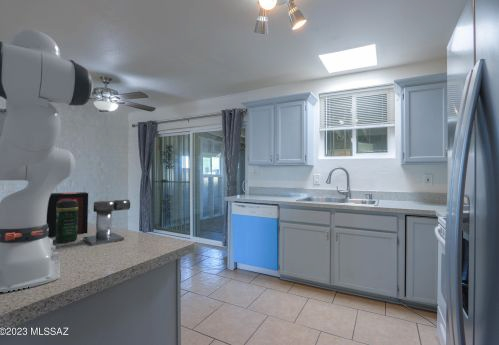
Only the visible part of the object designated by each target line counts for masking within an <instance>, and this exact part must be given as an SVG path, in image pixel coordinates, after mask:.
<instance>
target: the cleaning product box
mask: <svg viewBox="0 0 499 345" xmlns="http://www.w3.org/2000/svg"><path fill="white" fill-rule="evenodd" d="M61 199H72V200H74V201H77V202H78V229H77V235H83V234H84V233H85V234H88V230H89V229H88V224H89V223H88V222H89V220H88V219H89V193H88V192H86V191H82V192H81V191H80V192H52V193H51V195H50V198H49V201H48V208H47V224H48V227H49V231H48V234H49V235H48V237H49V238H55V235H56V205H57V204H56V203H57V202H58V201H60V200H61Z"/></svg>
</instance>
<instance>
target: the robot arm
mask: <svg viewBox="0 0 499 345" xmlns="http://www.w3.org/2000/svg"><path fill="white" fill-rule="evenodd" d="M61 56H62V55H61V50H60V48H59V45H58V44H57V43H56V41H55V40H54V39H53V38H52V37H51V36H50V35H48V34H46V33H44V32H42V31H40V30H37V29H32V28H31V29H27V28H26V29H22V30H19V31H18V32H16V33H15V34H14V35H13V37H11V39H10V40H9V42H8V43H4V42H3V41H0V98H2V99H4V100H6V101H5V108H0V181H27V185H26V186H25V187H24V188H23V189H20V190H18V191H15V192H12V193H10V194H9V195H6V196H4V197H3V198H2V199H1V200H0V292H3V293H9V292H8V291H10V292H14V291H13V290H15V291H19V290H18V289H20V290H24V289H23V288H25V289H29V288H33V287H36V286H41V285H44V284H47V283H51V282H53V281H56V280H58V279H60V277H61V260H58V259H59V251H55V250H56V245H53V239H52V238H51V237H48V235H49V234H48V231H49V227H48V224H47V208H48V201H49V198H50V195H51V193H54V190H55V189H56V188H57V186H58V185H59V184H60V183H62V182H64V180H66V179H68V178H69V177H71V176H72V174H73V173H74V171H75V170H76V164H77V163H76V159H75V157H74V155H73V153H72V152H71V151H70V150H69V149H64V148H61V147H56V145H57V144H58V141H59V138H60V134H61V130H62V129H61V128H62V120H61V116H60V115H61V114H60V112H59V110H57V108H56V107H55V106H54V104H65V105H68V106H84V105H86V104H87V103H88V102H89V100H90V98H91V97H92V94H93V91H94V83H93V80H92V75H91V73H90V72H89V71H88V69H86V68H85V67H84V66H82V65H81V64H78V63H77V62H75V60H72V59H70V60H69V59H68V60H67V59H64V58H62V57H61ZM52 103H53V104H52ZM28 287H29V288H28Z"/></svg>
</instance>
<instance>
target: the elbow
mask: <svg viewBox="0 0 499 345" xmlns="http://www.w3.org/2000/svg"><path fill="white" fill-rule="evenodd" d="M130 209H131V200H130V199H117V200H99V201H94V202H93V212H94V213H97V212H110V211H112V212H117V211H127V210H130Z"/></svg>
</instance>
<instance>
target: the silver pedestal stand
mask: <svg viewBox="0 0 499 345" xmlns="http://www.w3.org/2000/svg"><path fill="white" fill-rule="evenodd" d="M112 214H113V211H110V212H96V218H95V219H96V220H95V221H96V222H95V223H96V226H95V228H96V229H95V235H89V236H88V235H87V236H83V237H82V240H83V241H85V242H86V243H88V245H90V246H98V245H103V244H110V243H116V242H122V241H125V237H124V236H122V235H120V234H118V233H116V232H112V221H113V220H112V219H113V218H112Z"/></svg>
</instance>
